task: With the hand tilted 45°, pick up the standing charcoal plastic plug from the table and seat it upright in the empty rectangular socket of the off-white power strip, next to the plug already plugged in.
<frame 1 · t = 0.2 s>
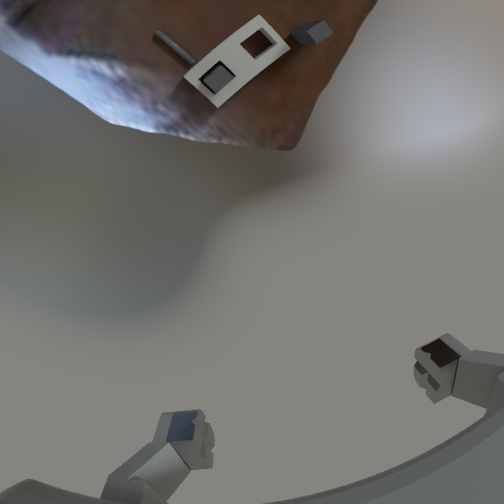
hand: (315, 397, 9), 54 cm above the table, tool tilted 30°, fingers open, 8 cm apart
power strip: (235, 59, 45), on the table
plug: (302, 33, 42), on the table
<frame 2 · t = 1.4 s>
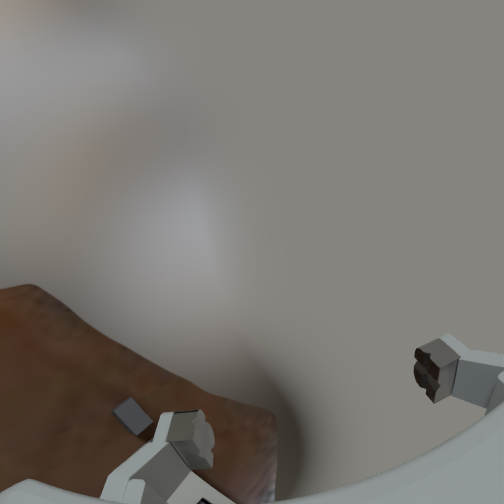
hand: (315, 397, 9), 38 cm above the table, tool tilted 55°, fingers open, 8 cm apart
power strip: (175, 492, 30), on the table
plug: (126, 416, 34), on the table
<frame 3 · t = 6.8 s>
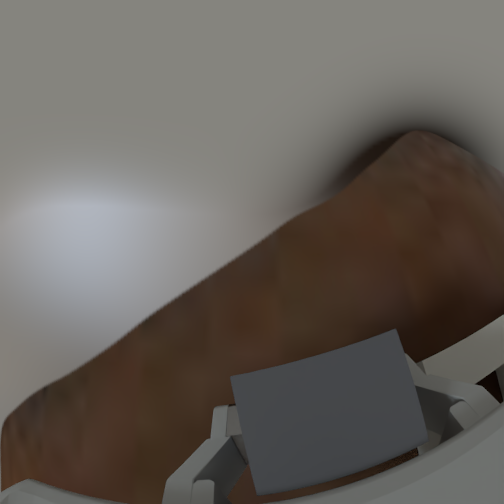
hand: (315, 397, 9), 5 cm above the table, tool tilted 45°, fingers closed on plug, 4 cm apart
plug: (312, 410, 13), on the table, touching gripper
when the fingers open (5 cm above the table, at t = 12.6 s): plug stays where it is, resting in power strip.
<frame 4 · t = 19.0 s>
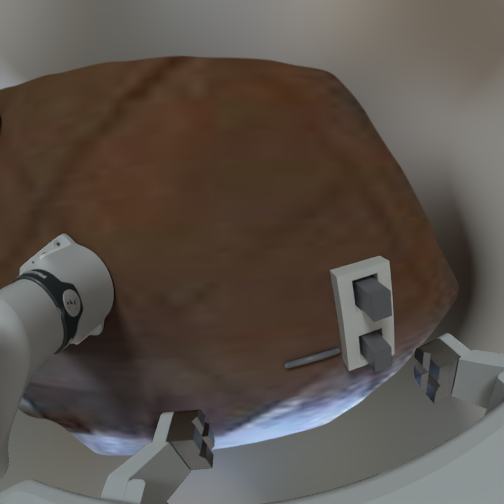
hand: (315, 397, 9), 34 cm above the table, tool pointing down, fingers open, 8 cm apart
power strip: (361, 311, 46), on the table
plug: (358, 285, 45), resting in power strip
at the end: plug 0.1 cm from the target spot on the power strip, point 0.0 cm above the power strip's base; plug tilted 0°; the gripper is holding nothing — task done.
